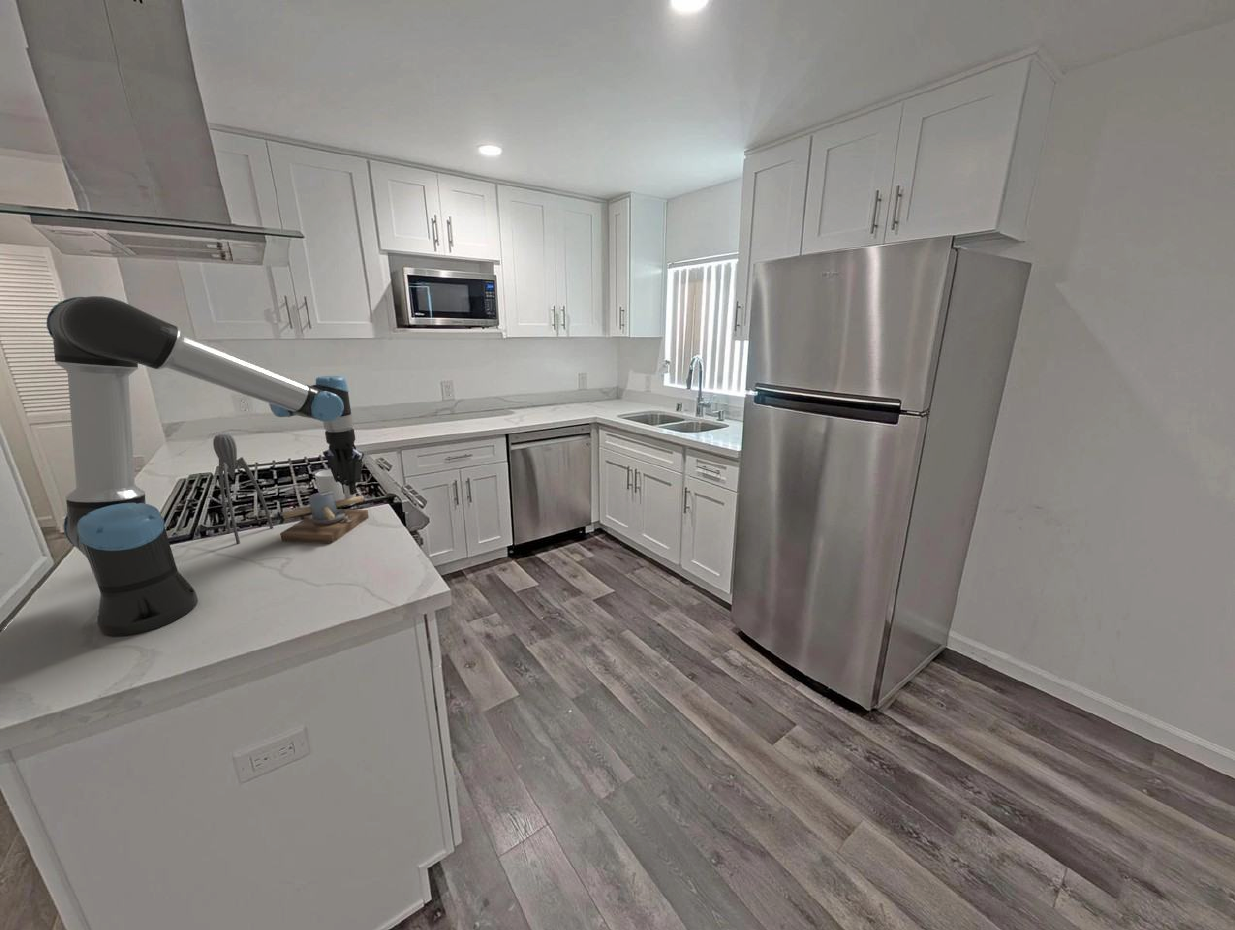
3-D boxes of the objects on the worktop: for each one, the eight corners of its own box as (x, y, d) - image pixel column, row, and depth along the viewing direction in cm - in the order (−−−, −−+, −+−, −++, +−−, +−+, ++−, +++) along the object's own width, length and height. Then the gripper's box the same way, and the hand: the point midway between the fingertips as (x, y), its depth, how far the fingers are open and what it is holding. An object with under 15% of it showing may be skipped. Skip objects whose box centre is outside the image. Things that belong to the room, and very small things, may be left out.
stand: (332, 542, 134) (330, 529, 132) (281, 541, 134) (278, 528, 133) (368, 517, 151) (366, 505, 150) (323, 516, 152) (320, 504, 150)
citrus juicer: (238, 544, 133) (211, 439, 124) (209, 541, 135) (180, 437, 126) (274, 527, 144) (251, 430, 135) (246, 524, 146) (222, 428, 137)
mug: (321, 511, 156) (314, 478, 152) (320, 503, 163) (314, 471, 159) (362, 503, 162) (357, 471, 159) (359, 496, 169) (354, 465, 165)
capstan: (292, 542, 128) (286, 514, 125) (280, 518, 143) (274, 493, 140) (376, 521, 141) (372, 495, 139) (357, 502, 156) (353, 478, 154)
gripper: (367, 428, 143) (378, 501, 150) (331, 425, 146) (344, 497, 153) (347, 433, 136) (360, 510, 143) (310, 430, 139) (324, 506, 146)
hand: (351, 503), depth 148 cm, fingers closed
